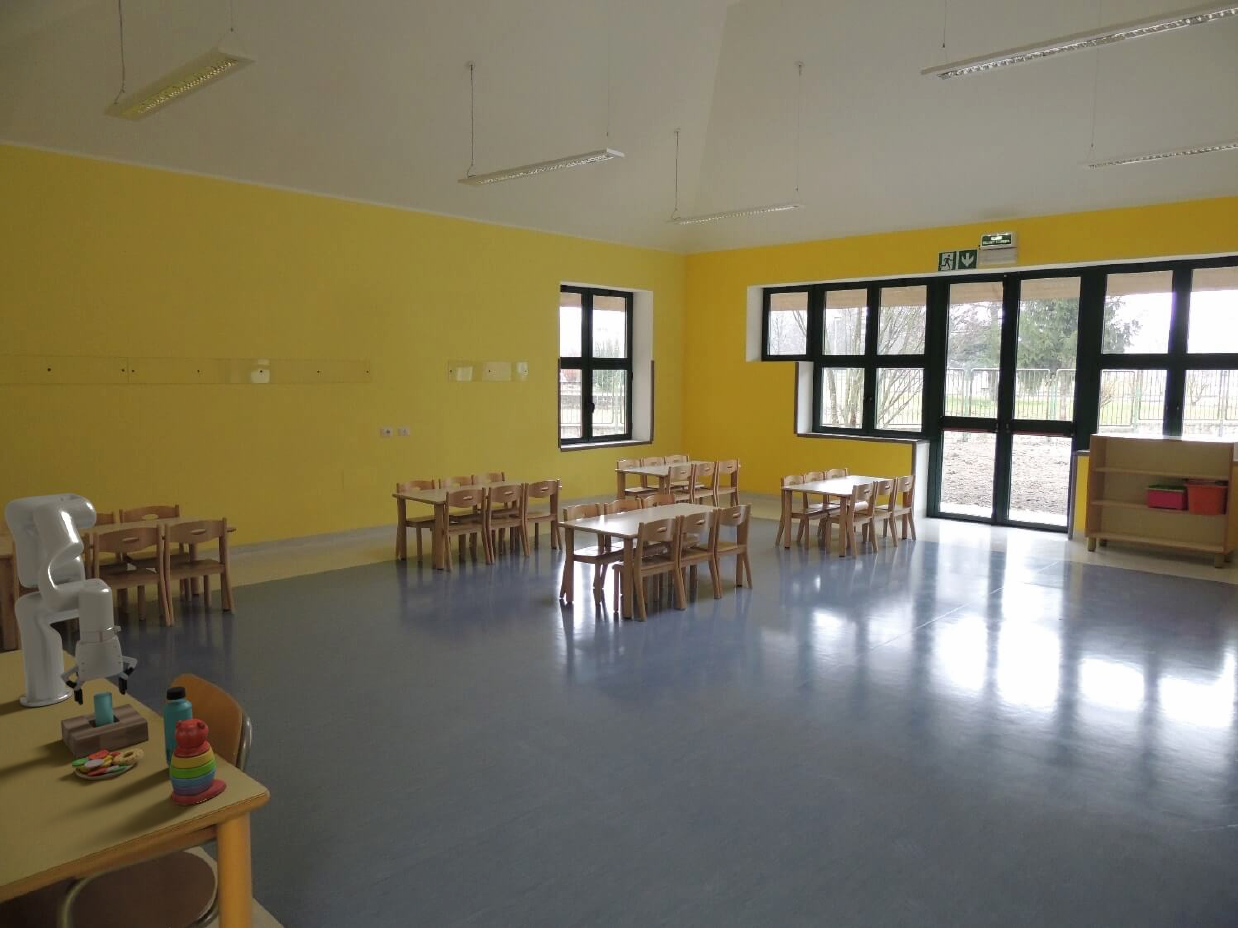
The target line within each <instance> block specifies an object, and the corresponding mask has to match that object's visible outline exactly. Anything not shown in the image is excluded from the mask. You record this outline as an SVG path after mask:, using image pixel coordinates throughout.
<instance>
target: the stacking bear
mask: <svg viewBox="0 0 1238 928" xmlns="http://www.w3.org/2000/svg"><path fill="white" fill-rule="evenodd" d="M175 726H176V728H177V729H176V731H175V739H176V742H177V744H178V746H177V747H176V748H175V749H174V752H173V754H172V758H171V763H170V767H169V772H168V773H169V779H170V783H171V785H172V789H173V791H172V794H171V799H172V802H173V803H175V804H176V803H177V804H176V805H178V804H193V805H195V804H194V803H197V802H200V801H203V800H205V799H209V798H211V797H213V796H215V795H217V794H218V795H220V794H221V793H223V792H224V790H226V788H227V783H226V781H225V780H223V779H218V778H215V775H216V768H217V765H216V764H217V763H216V762H217V761H216V758H215V755H214V752H213V748H212V746H211V745H210V743H209V742H208V741H207V738H208V734H209V727H208V725H207V723H205V722H204V721H203V720H201V719H199V718H192V719H189V720H186V721H184V722H183V721H178V722H177V723H176V725H175ZM220 792H221V793H220ZM219 793H220V794H219ZM218 795H217V796H218ZM215 797H216V796H215ZM213 798H214V797H213ZM211 799H212V798H211ZM209 800H210V799H209Z"/></svg>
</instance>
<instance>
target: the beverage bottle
mask: <svg viewBox="0 0 1238 928" xmlns="http://www.w3.org/2000/svg"><path fill="white" fill-rule="evenodd" d="M186 697H187V693H186V687H184V686H173V687H170V688H168V689H167V690H166V700H168V702H167V703H166V704H165V705H164V706H163V707H162V716H163V729H164V730H163V732H164V738H163V739H164V744H165V746H164V752H165V761H166V764H167V766H168V767H169V768H170V763H171V758H172V754H173V752H174V749H175V748H176V747H177V746H178V744H177V742H176V739H175V731H176V729H177V728H176V726H175V725H176V723H177V722H178V721H183V722H184V721H186V720H189V719H193V709H192V706H193V705H192V702H190V701H189V700H187V699H185V698H186Z"/></svg>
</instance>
